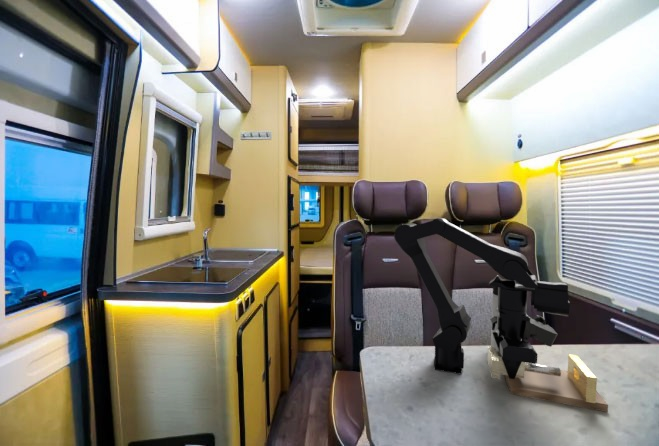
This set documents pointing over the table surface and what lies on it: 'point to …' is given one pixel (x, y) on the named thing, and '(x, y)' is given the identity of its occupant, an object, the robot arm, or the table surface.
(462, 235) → the robot arm
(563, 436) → the table surface
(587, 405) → the copper board
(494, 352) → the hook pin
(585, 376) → the gold slab
